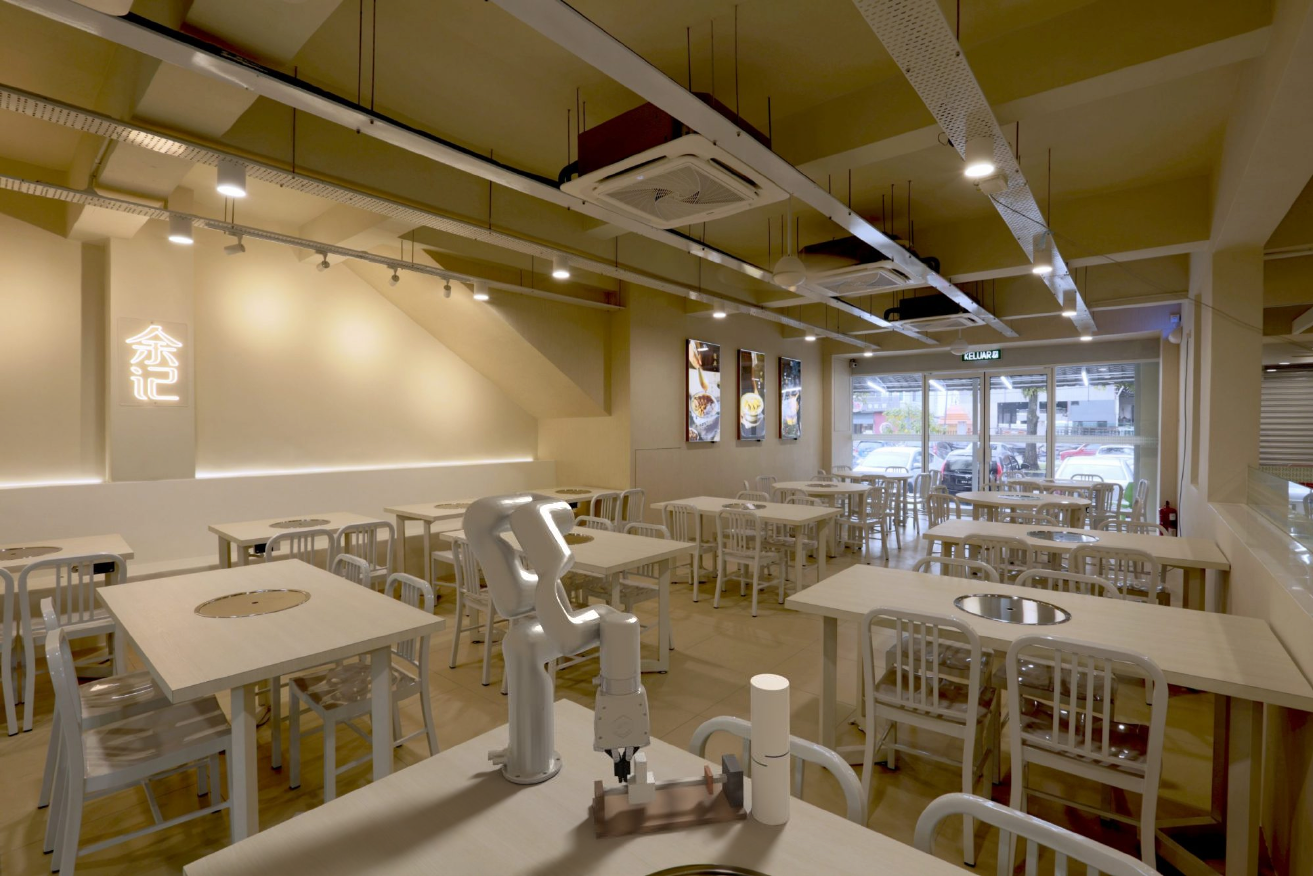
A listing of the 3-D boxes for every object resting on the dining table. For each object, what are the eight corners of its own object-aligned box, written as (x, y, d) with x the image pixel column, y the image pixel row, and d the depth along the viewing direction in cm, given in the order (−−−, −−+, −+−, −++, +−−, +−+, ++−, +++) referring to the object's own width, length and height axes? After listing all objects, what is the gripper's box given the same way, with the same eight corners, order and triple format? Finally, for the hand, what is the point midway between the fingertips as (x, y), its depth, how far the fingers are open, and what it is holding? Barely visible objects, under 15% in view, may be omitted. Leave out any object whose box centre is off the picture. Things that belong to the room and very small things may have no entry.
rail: (596, 838, 107) (595, 794, 107) (592, 804, 117) (591, 763, 117) (747, 819, 112) (746, 776, 112) (731, 787, 122) (731, 748, 122)
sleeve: (628, 804, 111) (628, 764, 111) (626, 792, 115) (625, 753, 115) (655, 801, 112) (654, 761, 112) (652, 789, 116) (651, 750, 116)
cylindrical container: (790, 827, 110) (789, 691, 109) (750, 822, 111) (749, 688, 111) (789, 803, 117) (788, 675, 116) (752, 799, 118) (751, 672, 118)
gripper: (581, 693, 108) (583, 795, 108) (663, 686, 110) (665, 786, 110) (579, 676, 115) (581, 771, 115) (656, 670, 117) (658, 763, 118)
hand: (622, 778), depth 113 cm, fingers closed
